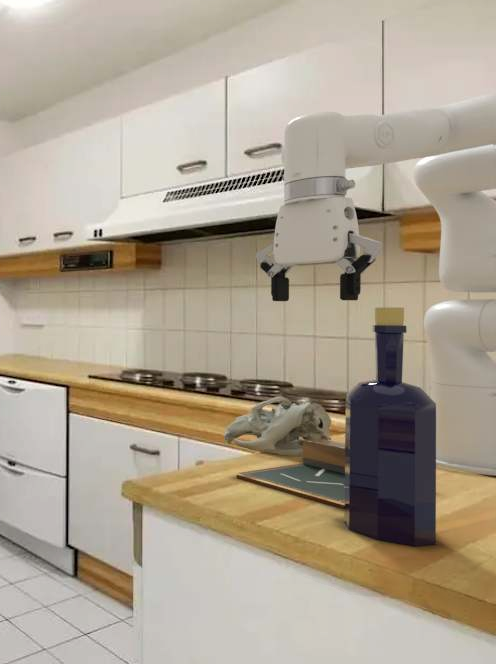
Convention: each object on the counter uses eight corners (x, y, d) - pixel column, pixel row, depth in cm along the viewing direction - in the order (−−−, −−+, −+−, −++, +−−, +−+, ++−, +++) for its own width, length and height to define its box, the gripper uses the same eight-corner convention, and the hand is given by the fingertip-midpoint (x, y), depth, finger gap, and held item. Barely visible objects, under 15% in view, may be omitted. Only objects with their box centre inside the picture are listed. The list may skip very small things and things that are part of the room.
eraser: (317, 462, 103) (318, 438, 103) (377, 475, 94) (377, 449, 94) (302, 464, 101) (302, 439, 101) (361, 478, 93) (361, 451, 93)
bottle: (459, 549, 68) (461, 307, 67) (372, 543, 69) (374, 307, 69) (401, 521, 77) (403, 307, 76) (325, 516, 78) (327, 307, 78)
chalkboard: (317, 466, 104) (317, 460, 104) (429, 493, 89) (429, 486, 89) (236, 478, 96) (236, 472, 96) (344, 510, 81) (344, 502, 81)
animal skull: (224, 472, 116) (202, 415, 116) (241, 447, 124) (221, 394, 124) (330, 473, 102) (306, 408, 102) (342, 444, 110) (320, 385, 110)
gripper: (396, 184, 81) (395, 300, 81) (272, 205, 97) (271, 301, 97) (365, 179, 78) (364, 299, 78) (242, 202, 94) (242, 301, 94)
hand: (313, 300), depth 87 cm, fingers open, 9 cm apart
